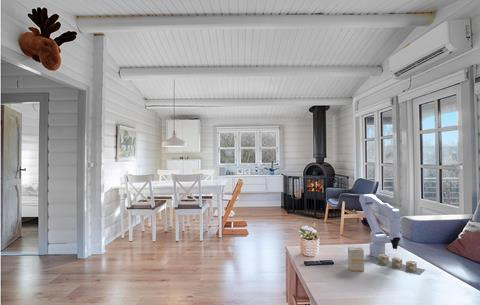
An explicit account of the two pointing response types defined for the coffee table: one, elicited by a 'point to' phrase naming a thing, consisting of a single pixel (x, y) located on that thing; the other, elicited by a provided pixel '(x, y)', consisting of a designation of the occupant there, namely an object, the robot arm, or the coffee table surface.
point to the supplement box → (356, 259)
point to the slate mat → (403, 268)
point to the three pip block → (411, 265)
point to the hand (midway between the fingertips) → (395, 248)
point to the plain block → (397, 262)
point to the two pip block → (383, 259)
